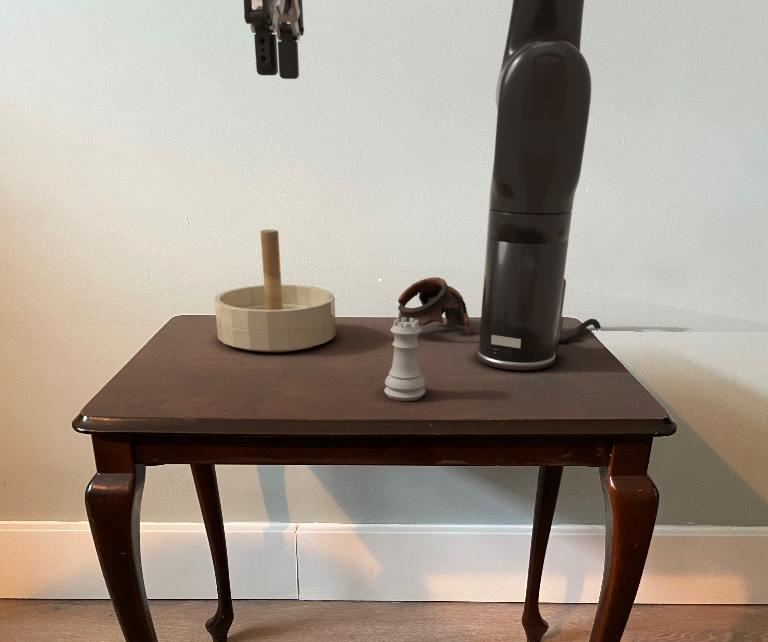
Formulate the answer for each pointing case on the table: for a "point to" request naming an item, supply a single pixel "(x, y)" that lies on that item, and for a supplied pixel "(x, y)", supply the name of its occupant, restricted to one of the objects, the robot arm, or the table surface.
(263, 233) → the muddler
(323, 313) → the bowl
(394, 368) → the rook chess piece
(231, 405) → the table surface
